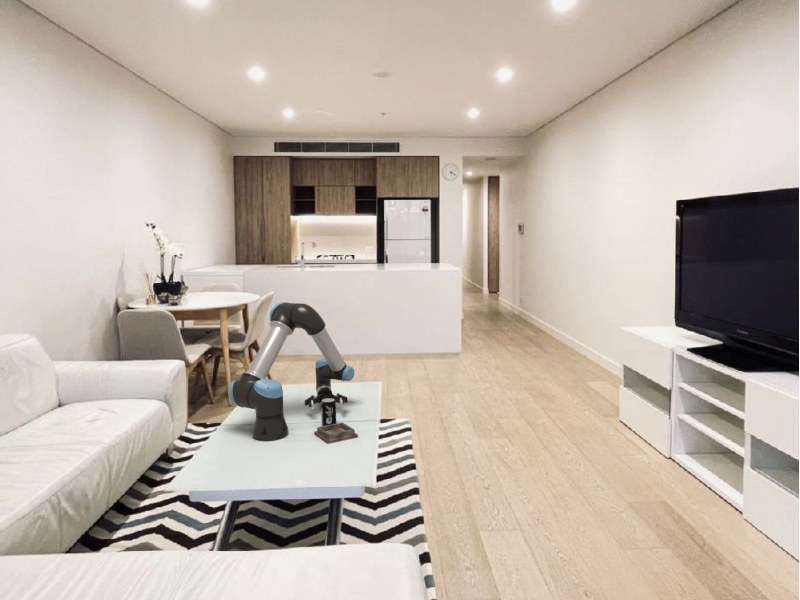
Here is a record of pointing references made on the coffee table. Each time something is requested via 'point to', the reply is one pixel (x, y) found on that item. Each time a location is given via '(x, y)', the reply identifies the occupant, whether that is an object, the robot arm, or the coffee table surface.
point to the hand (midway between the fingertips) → (327, 405)
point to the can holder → (335, 433)
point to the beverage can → (328, 411)
